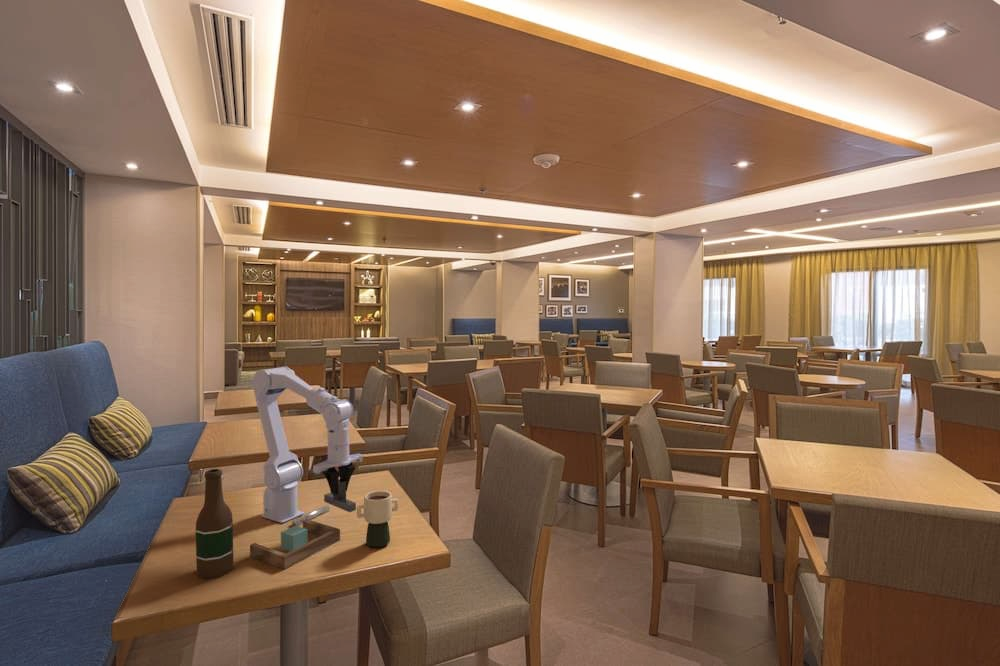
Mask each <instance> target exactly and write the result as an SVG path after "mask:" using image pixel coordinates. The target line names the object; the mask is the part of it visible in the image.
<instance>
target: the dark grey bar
mask: <svg viewBox="0 0 1000 666" xmlns="http://www.w3.org/2000/svg"><path fill="white" fill-rule="evenodd" d="M323 497H324V498H323V500H324V502H325V503H326V504H328V505H332V506H333V507H336V508H339V509H341V510H344V511H345V512H348V513H352V512H355V511H357V503H356V502H355V501H352V500H349V499H347V491H346V481H345V480H342V479H340V478H339V479H338V493H337V495H334V494H331V492H329V493H325V494H324V495H323Z"/></svg>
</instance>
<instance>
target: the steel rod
mask: <svg viewBox="0 0 1000 666" xmlns="http://www.w3.org/2000/svg"><path fill="white" fill-rule="evenodd" d="M327 511H328V512H329V511H330V507H329V504H325V505H324V506H321V507H319V508H317V509H314V510H312V511H310V512H307V513H306V514H305V513H304V514H302V515H300V516H298V517H295V518H293V519H291V520H292V521H291V523H292V524H291V526H294V525H295V526H299V524H300V525H301V523H302V524H303V521H304V520H306V519H307V520H310V519H311V520H312V518H313V519H315V518H316V516H317V517H319V516H321V515H324V514H326V513H328V512H327ZM325 512H326V513H325ZM323 513H324V514H323ZM314 517H315V518H314Z"/></svg>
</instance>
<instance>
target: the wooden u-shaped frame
mask: <svg viewBox="0 0 1000 666" xmlns="http://www.w3.org/2000/svg"><path fill="white" fill-rule="evenodd" d="M302 528H305V529H307V534H310V535H314V536H316V537H317V538H314V539H312V540H311V541H308V543H306V544H304V545H302V546H300V547H298V548H296V549H294V550H292V551H290V552H288V551H287V553H285V552H282V551H278V550H276V549H273V548H270V547H267V546H265V545H261V544H258V543H255V542H253V543H251V544H250V545H249V557H250V558H251V559H252V558H253V559H256V560H259V561H261V562H263V561H264V563H267V564H269V565H272V566H274V567H278V568H280V569H282V570H287V569H289V568H291V567H293V566H294V564H295V563H296V564H298V563H300V562H301V560H302V559H304V560H306V559H307V558H306V557H308V556H309V557H311V556H312V554H313V555H314V553H315V554H316V552H317V553H319V552H320V551H323V550H324V549H326V548H328V547H330V546H331V545H333V544H335V543H337V542H339V541H341V529H340V528H338V527H333V526H331V525H327V524H324V523H321V522H318V521H317V522H316V521H314V520H312V519H311V520H307V519H306V520H304V521H303V523H302ZM318 551H319V552H318ZM310 555H311V556H310ZM309 557H308V558H309ZM305 558H306V559H305ZM299 561H300V562H299ZM302 561H303V560H302ZM297 562H298V563H297ZM296 564H295V565H296ZM292 565H293V566H292ZM290 566H291V567H290Z"/></svg>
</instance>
